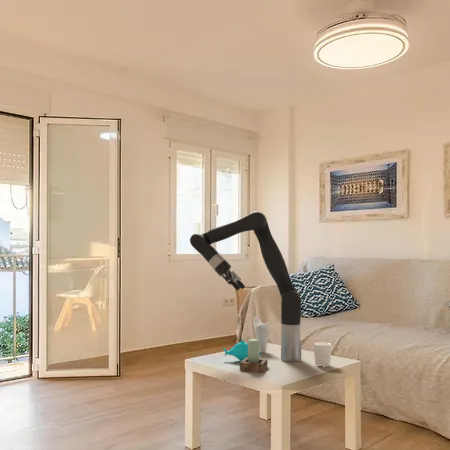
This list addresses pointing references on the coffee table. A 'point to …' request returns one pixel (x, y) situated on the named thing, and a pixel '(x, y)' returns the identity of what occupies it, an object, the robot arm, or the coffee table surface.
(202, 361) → the coffee table surface
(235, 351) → the toy shark
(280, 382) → the coffee table surface
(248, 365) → the socket base
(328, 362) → the white cup
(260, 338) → the shell sculpture
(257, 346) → the post
